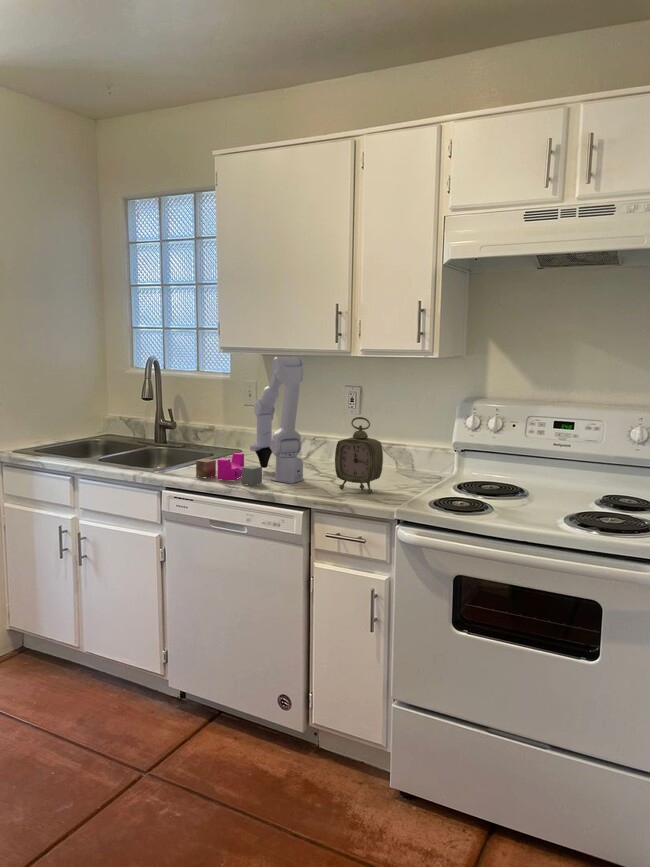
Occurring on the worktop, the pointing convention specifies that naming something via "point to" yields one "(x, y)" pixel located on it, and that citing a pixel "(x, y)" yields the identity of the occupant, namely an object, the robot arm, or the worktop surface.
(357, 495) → the worktop surface
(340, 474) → the tabletop clock
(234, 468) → the toy block
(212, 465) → the walnut block
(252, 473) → the slate block
